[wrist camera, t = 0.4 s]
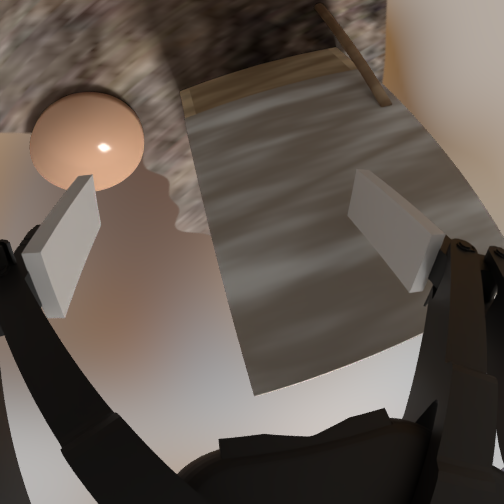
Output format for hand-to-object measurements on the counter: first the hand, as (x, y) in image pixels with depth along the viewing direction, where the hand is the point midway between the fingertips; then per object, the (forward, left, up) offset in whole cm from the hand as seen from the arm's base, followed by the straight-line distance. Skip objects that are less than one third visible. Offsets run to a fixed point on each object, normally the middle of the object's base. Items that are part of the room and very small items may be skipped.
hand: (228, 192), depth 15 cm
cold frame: (+13, +6, -20) cm, 24 cm away
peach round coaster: (+6, -14, -19) cm, 24 cm away
